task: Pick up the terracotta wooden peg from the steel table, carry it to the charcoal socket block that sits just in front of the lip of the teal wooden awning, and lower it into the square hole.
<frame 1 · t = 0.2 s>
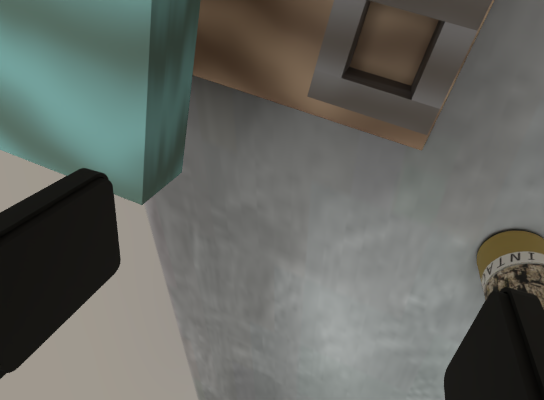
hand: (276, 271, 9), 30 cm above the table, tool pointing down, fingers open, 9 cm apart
paper tube: (512, 254, 40), on the table
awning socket: (392, 41, 34), on the table
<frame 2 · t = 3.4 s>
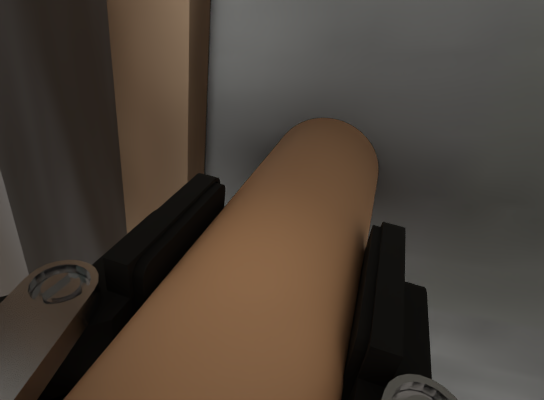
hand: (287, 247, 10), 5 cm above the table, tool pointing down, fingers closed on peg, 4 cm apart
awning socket: (42, 99, 17), on the table
peg: (324, 169, 15), on the table, touching gripper
when the fingers open (8 cm above the table, at t = 8.5 s): peg stays where it is, resting on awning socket.
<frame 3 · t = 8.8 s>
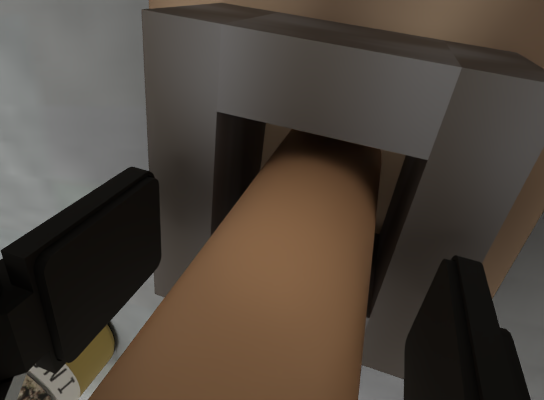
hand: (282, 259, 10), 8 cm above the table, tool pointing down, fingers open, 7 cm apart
paper tube: (83, 323, 30), on the table
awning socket: (334, 146, 17), on the table
peg: (330, 160, 15), point 2 cm above the table, touching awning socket
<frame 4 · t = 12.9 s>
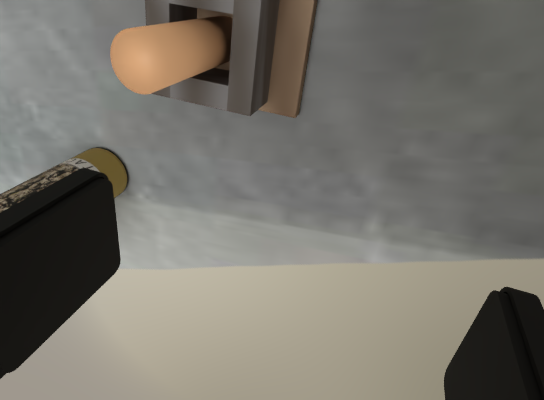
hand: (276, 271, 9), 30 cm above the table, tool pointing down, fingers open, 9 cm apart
paper tube: (108, 169, 51), on the table
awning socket: (229, 37, 37), on the table
peg: (224, 39, 36), point 2 cm above the table, touching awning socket
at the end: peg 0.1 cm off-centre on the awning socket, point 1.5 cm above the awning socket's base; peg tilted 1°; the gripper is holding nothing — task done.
